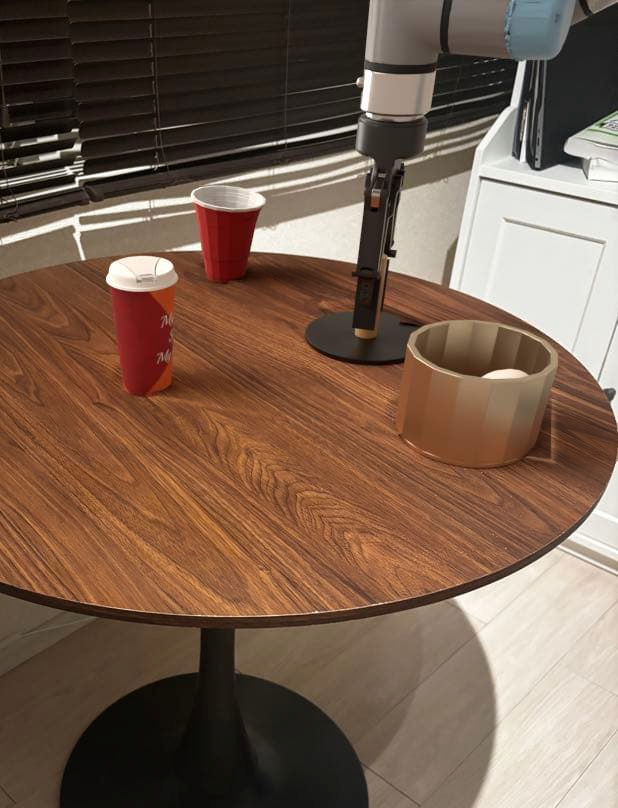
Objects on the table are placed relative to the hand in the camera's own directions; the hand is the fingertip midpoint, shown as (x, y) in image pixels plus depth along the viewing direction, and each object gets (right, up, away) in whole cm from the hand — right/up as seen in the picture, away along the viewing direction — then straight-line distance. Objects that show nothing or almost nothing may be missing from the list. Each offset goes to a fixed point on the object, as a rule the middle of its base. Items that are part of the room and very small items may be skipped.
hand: (367, 318), depth 102 cm
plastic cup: (-17, +12, +21) cm, 30 cm away
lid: (0, -2, +2) cm, 3 cm away
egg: (+8, -15, -17) cm, 24 cm away
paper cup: (-27, -10, -7) cm, 30 cm away
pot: (+7, -16, -16) cm, 24 cm away
